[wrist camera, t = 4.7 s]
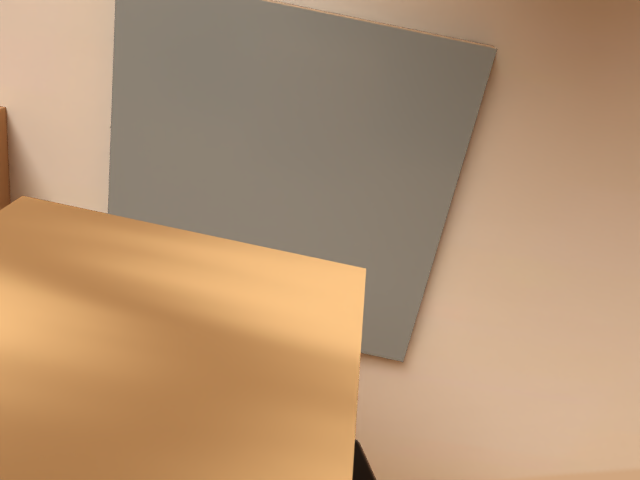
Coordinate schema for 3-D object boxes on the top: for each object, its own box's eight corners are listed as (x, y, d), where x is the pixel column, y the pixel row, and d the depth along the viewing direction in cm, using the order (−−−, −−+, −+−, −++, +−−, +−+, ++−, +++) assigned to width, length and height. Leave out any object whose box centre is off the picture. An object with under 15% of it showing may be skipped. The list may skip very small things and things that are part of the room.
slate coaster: (112, 288, 20) (104, 297, 20) (125, -31, 16) (116, -30, 16) (402, 351, 20) (403, 361, 20) (493, 45, 16) (497, 48, 15)
